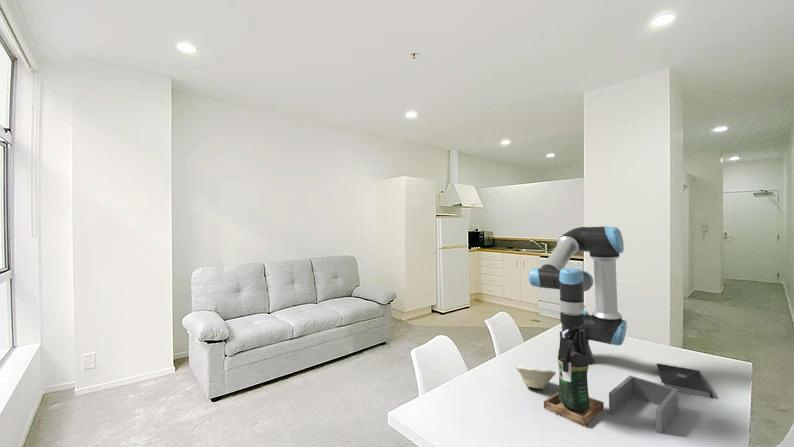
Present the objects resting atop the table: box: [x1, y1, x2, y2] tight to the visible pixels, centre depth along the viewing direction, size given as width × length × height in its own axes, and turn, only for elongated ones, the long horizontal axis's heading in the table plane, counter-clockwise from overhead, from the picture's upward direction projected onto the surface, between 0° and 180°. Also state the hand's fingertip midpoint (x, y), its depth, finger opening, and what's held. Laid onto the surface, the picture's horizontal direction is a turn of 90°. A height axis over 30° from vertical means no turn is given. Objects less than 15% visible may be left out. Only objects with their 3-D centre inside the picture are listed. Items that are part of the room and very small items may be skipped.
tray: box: [543, 391, 605, 427], centre depth 117 cm, size 14×16×3 cm
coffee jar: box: [557, 351, 590, 411], centre depth 117 cm, size 10×8×19 cm
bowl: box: [515, 365, 557, 390], centre depth 133 cm, size 15×14×10 cm
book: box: [656, 363, 714, 399], centre depth 136 cm, size 22×15×3 cm
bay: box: [608, 375, 679, 434], centre depth 115 cm, size 14×21×7 cm
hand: (573, 376), depth 117 cm, fingers closed on coffee jar, 9 cm apart
